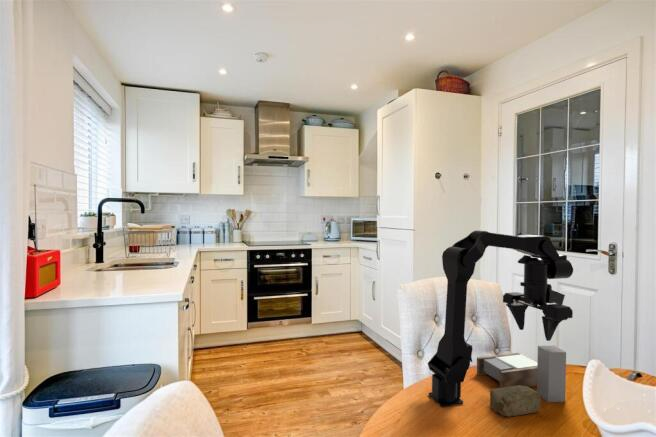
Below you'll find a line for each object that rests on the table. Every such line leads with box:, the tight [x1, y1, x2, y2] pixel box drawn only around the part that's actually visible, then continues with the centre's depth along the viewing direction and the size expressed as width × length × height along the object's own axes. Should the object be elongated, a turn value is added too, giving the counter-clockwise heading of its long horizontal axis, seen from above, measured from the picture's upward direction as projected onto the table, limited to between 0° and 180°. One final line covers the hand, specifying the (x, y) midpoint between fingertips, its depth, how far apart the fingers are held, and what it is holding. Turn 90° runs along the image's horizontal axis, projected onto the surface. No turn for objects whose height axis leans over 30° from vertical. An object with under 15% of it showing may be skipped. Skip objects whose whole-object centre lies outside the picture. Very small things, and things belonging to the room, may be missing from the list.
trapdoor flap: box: [484, 353, 538, 382], centre depth 106 cm, size 14×8×4 cm, turn 106°
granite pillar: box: [536, 345, 567, 403], centre depth 96 cm, size 5×5×13 cm
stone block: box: [489, 385, 542, 418], centre depth 90 cm, size 6×12×5 cm, turn 106°
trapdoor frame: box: [476, 352, 537, 388], centre depth 106 cm, size 15×11×5 cm
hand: (534, 334), depth 101 cm, fingers open, 9 cm apart
